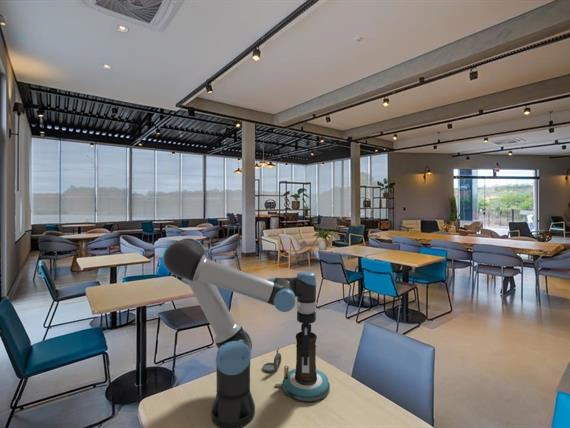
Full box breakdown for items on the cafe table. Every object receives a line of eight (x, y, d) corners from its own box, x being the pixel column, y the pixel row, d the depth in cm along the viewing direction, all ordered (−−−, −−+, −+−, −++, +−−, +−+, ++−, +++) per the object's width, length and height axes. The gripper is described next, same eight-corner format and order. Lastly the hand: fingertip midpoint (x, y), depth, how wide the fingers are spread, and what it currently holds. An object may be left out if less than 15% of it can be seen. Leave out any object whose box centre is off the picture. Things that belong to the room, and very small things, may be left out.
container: (315, 387, 119) (316, 341, 118) (292, 384, 121) (293, 339, 120) (318, 374, 128) (318, 331, 127) (296, 372, 129) (297, 329, 129)
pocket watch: (262, 365, 141) (262, 344, 141) (280, 363, 143) (280, 342, 142) (264, 375, 133) (264, 352, 133) (283, 373, 134) (283, 350, 134)
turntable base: (272, 400, 116) (272, 396, 116) (278, 372, 135) (278, 369, 135) (330, 404, 114) (330, 400, 114) (328, 375, 133) (328, 372, 133)
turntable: (328, 372, 132) (328, 359, 131) (328, 399, 114) (328, 383, 114) (287, 369, 134) (287, 355, 134) (280, 394, 117) (280, 379, 116)
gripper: (315, 323, 110) (315, 381, 111) (315, 301, 135) (315, 348, 136) (295, 322, 111) (294, 380, 112) (298, 300, 136) (298, 348, 137)
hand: (306, 363), depth 124 cm, fingers open, 13 cm apart
